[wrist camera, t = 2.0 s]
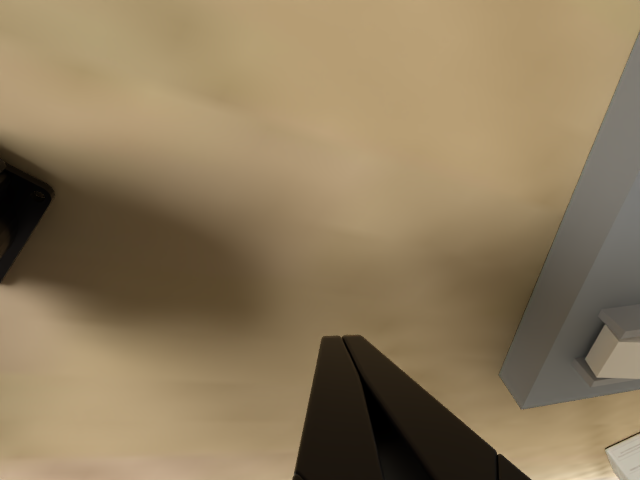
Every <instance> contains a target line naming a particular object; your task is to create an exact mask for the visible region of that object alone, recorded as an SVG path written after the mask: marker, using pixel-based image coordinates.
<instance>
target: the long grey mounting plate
mask: <svg viewBox="0 0 640 480" xmlns="http://www.w3.org/2000/svg"><path fill="white" fill-rule="evenodd" d="M605 324H606V325H607V326H608V327H609V328H610V329H611V330H612V331H613V332H614V333H615V334H616V335H617V336H618V337H619V338H620V339H624V338H631V337H637V336H640V32H639V35H638V37H637V39H636V42H635V44H634V47H633V49H632V52H631V54H630V57H629V59H628V61H627V64H626V66H625V69H624V71H623V74H622V76H621V78H620V81H619V83H618V86H617V88H616V91H615V93H614V95H613V98H612V100H611V103H610V105H609V108H608V110H607V113H606V115H605V117H604V120H603V122H602V125H601V127H600V130H599V132H598V134H597V137H596V139H595V142H594V144H593V147H592V149H591V152H590V154H589V156H588V159H587V161H586V164H585V166H584V169H583V171H582V173H581V176H580V178H579V181H578V183H577V186H576V188H575V190H574V193H573V195H572V198H571V200H570V203H569V205H568V208H567V210H566V212H565V215H564V217H563V220H562V222H561V225H560V227H559V229H558V232H557V234H556V237H555V239H554V242H553V244H552V246H551V249H550V251H549V254H548V256H547V259H546V261H545V264H544V266H543V268H542V271H541V273H540V276H539V278H538V281H537V283H536V285H535V288H534V290H533V293H532V295H531V298H530V300H529V303H528V305H527V307H526V310H525V312H524V315H523V317H522V320H521V322H520V324H519V327H518V329H517V332H516V334H515V337H514V339H513V341H512V344H511V346H510V349H509V351H508V354H507V356H506V359H505V361H504V363H503V366H502V368H501V371H500V373H499V376H500V378H501V379H502V381H503V383H504V384H505V386H506V387H507V389H508V390H509V392H510V393H511V395H512V396H513V398H514V399H515V401H516V402H517V404H518V406H519V407H520V409H521V410H522V409H528V408H533V407H539V406H545V405H551V404H557V403H563V402H569V401H575V400H580V399H586V398H592V397H598V396H604V395H610V394H616V393H622V392H627V391H633V390H639V389H640V379H628V378H598V377H596V376H595V374H594V373H593V371H592V370H591V368H590V366H589V365H588V363H587V362H586V360H585V358H586V356H587V355H588V353H589V351H590V349H591V348H592V346H593V344H594V343H595V341H596V339H597V337H598V336H599V334H600V332H601V330H602V329H603V327H604V325H605Z"/></svg>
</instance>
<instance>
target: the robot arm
mask: <svg viewBox="0 0 640 480" xmlns="http://www.w3.org/2000/svg"><path fill="white" fill-rule="evenodd" d="M34 191H38V192H41V193H42V194H43V195H44V197H45V198H41V197H38V196H37V195H36V194H35V192H34ZM54 196H55V193H54V190H53V189H52V188H51V187H50V186H49V185H48V184H46V183H44V182H42V181H40V180H38V179H36V178H34V177H32V176H31V175H29V174H27V173H25V172H23V171H21V170H19V169H17V168H15V167H13V166H11V165H9V164H7V163H5V162H4V161H3V160H2V159H1V158H0V283H1V282H2V280H3V279H4V277H5V276H6V274H7V272H8V271H9V269H10V268H11V266H12V264H13V263H14V261H15V260H16V258H17V256H18V255H19V253H20V252H21V250H22V248H23V247H24V245H25V244H26V242H27V240H28V239H29V237H30V236H31V234H32V233H33V231H34V229H35V228H36V226H37V225H38V223H39V221H40V220H41V218H42V217H43V215H44V213H45V212H46V210H47V209H48V207H49V205H50V204H51V202H52V201H53V199H54ZM292 480H531V479H530V478H529V477H528V476H526V475H525V474H524V473H523V472H521V471H520V470H519V469H518V468H517V467H516V466H514V465H513V464H512V463H511V462H510V461H509V460H507V459H506V458H505V457H504V456H503V455H501V454H498V455H497V452H496V450H495V449H493V448H492V447H491V446H490V445H489V444H488V443H486V442H485V441H484V440H483V439H482V438H481V437H479V436H478V435H477V434H476V433H475V432H474V431H472V430H471V429H470V428H469V427H468V426H467V425H465V424H464V423H463V422H462V421H461V420H460V419H458V418H457V417H456V416H455V415H454V414H453V413H451V412H450V411H449V410H448V409H447V408H445V407H444V406H443V405H442V404H441V403H440V402H438V401H437V400H436V399H435V398H434V397H433V396H431V395H430V394H429V393H428V392H427V391H426V390H424V389H423V388H422V387H421V386H420V385H419V384H417V383H416V382H415V381H414V380H413V379H412V378H410V377H409V376H408V375H407V374H406V373H405V372H403V371H402V370H401V369H400V368H399V367H398V366H396V365H395V364H394V363H393V362H392V361H390V360H389V359H388V358H387V357H386V356H385V355H383V354H382V353H381V352H380V351H379V350H378V349H376V348H375V347H374V346H373V345H372V344H371V343H369V342H368V341H367V340H366V339H365V338H364V337H362V336H361V335H344V336H343V337H342V338H341V337H340V336H324V337H323V338H322V340H321V344H320V349H319V354H318V359H317V364H316V369H315V374H314V379H313V383H312V388H311V393H310V398H309V403H308V408H307V413H306V418H305V422H304V427H303V432H302V437H301V442H300V447H299V452H298V457H297V461H296V466H295V471H294V476H293V479H292Z"/></svg>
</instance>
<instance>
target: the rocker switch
mask: <svg viewBox="0 0 640 480" xmlns="http://www.w3.org/2000/svg"><path fill="white" fill-rule="evenodd" d="M585 360H586V362H587V363H588V365H589V366H590V368H591V370H592V371H593V373H594V374H595V376H596V377H598V378H628V379H640V336H637V337H631V338H624V339H620V338H619V337H618V336H617V335H616V334H615V333H614V332H613V331H612V330H611V329H610V328H609V327H608V326H607V325H606V324H605V325H604V327H603V329H602V330H601V332H600V334H599V336H598V337H597V339H596V341H595V343H594V344H593V346H592V348H591V349H590V351H589V353H588V355H587V356H586V358H585Z"/></svg>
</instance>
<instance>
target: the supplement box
mask: <svg viewBox="0 0 640 480" xmlns="http://www.w3.org/2000/svg"><path fill="white" fill-rule="evenodd" d="M606 453H607V456H608V459H609V461H610V464H611V466H612V469H613V472H614V473H615V474H616V475H617V477H618V478H619V479H620V480H640V433H639V434H637V435H635V436H633V437H631V438H628V439H626V440H624V441H622V442H620V443H618V444H616V445H614V446H611V447H609V448H607V449H606Z"/></svg>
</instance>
